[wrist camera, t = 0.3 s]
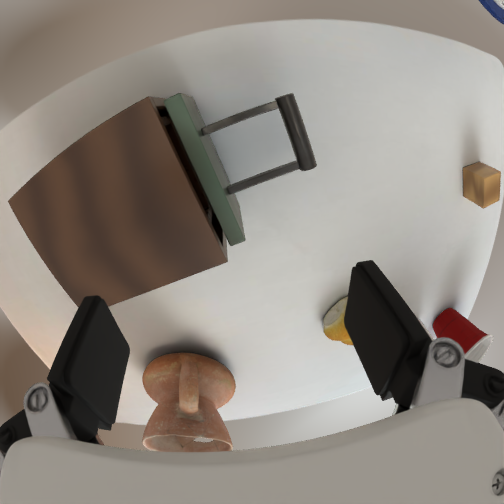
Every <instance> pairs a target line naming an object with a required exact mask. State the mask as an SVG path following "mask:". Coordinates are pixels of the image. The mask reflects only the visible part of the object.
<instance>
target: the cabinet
mask: <svg viewBox="0 0 504 504" xmlns="http://www.w3.org/2000/svg"><path fill="white" fill-rule="evenodd" d="M164 100H166V99H165V98H156V97H146V98H144V99H143V100H141V101H139V102H137V103H135V104H134V105H132V106H130V107H128V108H127V109H125V110H123V111H121V112H120V113H118V114H117V115H115V116H113V117H112V118H110V119H108V120H107V121H105V122H104V123H102V124H101V125H99V126H98V127H96V128H95V129H93V130H92V131H90V132H89V133H87V134H86V135H85V136H83V137H82V138H80V139H79V140H78V141H76V142H75V143H74V144H72V145H71V146H70V147H68V148H67V149H66V150H64V151H63V152H62V153H61V154H59V155H58V156H57V157H56V158H54V159H53V160H52V161H51V162H49V163H48V164H47V165H46V166H45V167H44V168H42V169H41V170H40V171H39V172H38V173H37V174H36V175H34V176H33V177H32V178H31V179H30V180H29V181H28V182H27V183H26V184H25V185H24V186H23V187H22V188H21V189H20V190H19V191H18V192H17V193H15V195H14V196H13V197H12V198H11V199H10V200H9V201H8V202H9V204H10V206H11V208H12V210H13V212H14V214H15V216H16V217H17V219H18V221H19V223H20V225H21V226H22V228H23V230H24V231H25V233H26V235H27V236H28V238H29V240H30V241H31V243H32V244H33V246H34V248H35V249H36V251H37V252H38V254H39V255H40V257H41V258H42V260H43V261H44V263H45V264H46V266H47V267H48V268H49V270H50V271H51V273H52V274H53V275H54V277H55V278H56V279H57V281H58V282H59V284H60V285H61V286H62V287H63V289H64V290H65V291H66V293H67V294H68V295H69V296H70V298H71V299H72V300H73V301H74V303H75V304H76V305H77V306H78V308H79V306H80V304H81V302H82V300H83V299H84V297H86V296H94V295H98V296H100V297H101V299H104V300H105V302H106V304H107V306H111V305H114V304H116V303H119V302H122V301H125V300H127V299H130V298H133V297H135V296H138V295H141V294H143V293H146V292H149V291H151V290H154V289H157V288H159V287H162V286H165V285H167V284H170V283H173V282H175V281H178V280H181V279H183V278H186V277H189V276H191V275H194V274H197V273H199V272H202V271H205V270H207V269H210V268H213V267H215V266H218V265H221V264H223V263H226V262H228V260H227V241H226V236H225V234H224V232H223V229H222V227H221V225H220V223H219V221H218V219H217V217H216V215H215V213H214V211H213V210H212V224H211V222H210V220H209V218H208V216H207V214H206V212H205V210H204V208H203V206H202V204H201V202H200V200H199V198H198V196H197V193H196V191H195V189H194V187H193V185H192V183H191V181H190V179H189V177H188V175H187V173H186V170H185V168H184V166H183V164H182V162H181V160H180V158H179V156H178V153H177V151H176V149H175V147H174V145H173V143H172V141H171V138H170V136H169V134H168V132H167V130H166V128H165V125H164V123H163V121H162V119H161V117H164V116H168V115H169V113H168V111H167V109H166V107H165V104H164V102H163V101H164ZM169 117H170V115H169ZM170 119H171V118H170ZM171 121H172V120H171ZM172 123H173V122H172ZM173 126H174V124H173ZM174 128H175V127H174ZM175 130H176V129H175ZM176 132H177V131H176ZM177 134H178V133H177ZM178 136H179V135H178ZM179 139H180V138H179ZM180 141H181V140H180ZM181 143H182V142H181ZM182 145H183V144H182ZM183 147H184V146H183ZM184 150H185V148H184ZM185 152H186V151H185ZM186 154H187V153H186ZM187 156H188V155H187ZM188 158H189V157H188ZM189 160H190V159H189ZM190 163H191V161H190ZM191 165H192V164H191ZM192 167H193V166H192ZM193 169H194V168H193ZM194 171H195V170H194ZM195 173H196V172H195ZM196 175H197V174H196ZM197 178H198V177H197ZM198 180H199V179H198ZM199 182H200V181H199ZM200 184H201V183H200ZM201 186H202V185H201ZM202 188H203V187H202ZM203 190H204V189H203ZM204 193H205V191H204ZM205 195H206V194H205ZM206 197H207V196H206ZM207 199H208V198H207ZM208 201H209V200H208ZM209 203H210V202H209ZM210 205H211V204H210ZM211 207H212V206H211ZM212 209H213V208H212Z"/></svg>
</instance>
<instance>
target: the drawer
mask: <svg viewBox="0 0 504 504" xmlns="http://www.w3.org/2000/svg"><path fill="white" fill-rule="evenodd" d="M275 100H276V101H273V102H270V103H267V104H264V105H261V106H258V107H255V108H252V109H249V110H246V111H244V112H241V113H238V114H235V115H233V116H230V117H228V118H225V119H222V120H220V121H217V122H215V123H213V124H210V125H208V126H205V124H204V122H203V120H202V117H201V115H200V113H199V111H198V108H197V106H196V104H195V101H194V99H193V97H191V96H188V95H185V94H181V93H178V94H176V95H174V96H172V97H170V98H168V99H166V100H164V101H163V102H164V104H165V107H166V109H167V111H168V113H169V115H170V117H169V115H168V116H164V117H161V119H162V121H163V123H164V125H165V128H166V130H167V132H168V134H169V136H170V138H171V141H172V143H173V145H174V147H175V149H176V151H177V153H178V156H179V158H180V160H181V162H182V164H183V166H184V168H185V170H186V173H187V175H188V177H189V179H190V181H191V183H192V185H193V187H194V189H195V191H196V193H197V196H198V198H199V200H200V202H201V204H202V206H203V208H204V210H205V212H206V214H207V216H208V218H209V220H210V222H211V224H212V210H213V211H214V213H215V215H216V217H217V219H218V221H219V223H220V225H221V227H222V229H223V232H224V234H225V236H226V238H227V240H228V242H229V244H230V246H233V245H235V244H238V243H241V242H243V241H245V235H244V229H243V223H242V218H241V212H240V206H239V203H238V201H237V198H236V196H235V194H234V193H236V192H239V191H241V190H244V189H246V188H249V187H251V186H254V185H257V184H259V183H262V182H265V181H267V180H270V179H273V178H275V177H278V176H281V175H284V174H286V173H289V172H292V171H295V170H298V169H300V170H301V171H306V170H311V169H313V168H315V167H316V166H317V164H316V161H315V158H314V154H313V151H312V148H311V145H310V141H309V138H308V135H307V132H306V129H305V126H304V123H303V120H302V117H301V114H300V111H299V108H298V106H297V103H296V100H295V97H294V94H293V93H290V94H287V95H283V96H280V97H277V98H275ZM278 108H279V111H280V114H281V116H282V119H283V122H284V125H285V127H286V130H287V133H288V136H289V139H290V142H291V145H292V148H293V151H294V154H295V157H296V160H297V161H293V162H290V163H288V164H285V165H282V166H279V167H276V168H274V169H271V170H268V171H265V172H263V173H260V174H257V175H255V176H252V177H250V178H247V179H244V180H242V181H239V182H237V183H234V184H232V185H231V184H230V182H229V180H228V177H227V175H226V173H225V170H224V168H223V166H222V164H221V161H220V159H219V157H218V154H217V152H216V150H215V147H214V145H213V143H212V140H211V138H210V136H209V134H210V133H212V132H215V131H217V130H220V129H222V128H225V127H227V126H230V125H232V124H235V123H238V122H240V121H243V120H246V119H248V118H251V117H254V116H257V115H260V114H263V113H266V112H269V111H272V110H275V109H278ZM170 118H171V119H170ZM171 120H172V121H171ZM172 122H173V123H172ZM173 124H174V126H173ZM174 127H175V128H174ZM175 129H176V130H175ZM176 131H177V132H176ZM177 133H178V134H177ZM178 135H179V136H178ZM179 138H180V139H179ZM180 140H181V141H180ZM181 142H182V143H181ZM182 144H183V145H182ZM183 146H184V147H183ZM184 148H185V150H184ZM185 151H186V152H185ZM186 153H187V154H186ZM187 155H188V156H187ZM188 157H189V158H188ZM189 159H190V160H189ZM190 161H191V163H190ZM191 164H192V165H191ZM192 166H193V167H192ZM193 168H194V169H193ZM194 170H195V171H194ZM195 172H196V173H195ZM196 174H197V175H196ZM197 177H198V178H197ZM198 179H199V180H198ZM199 181H200V182H199ZM200 183H201V184H200ZM201 185H202V186H201ZM202 187H203V188H202ZM203 189H204V190H203ZM204 191H205V193H204ZM205 194H206V195H205ZM206 196H207V197H206ZM207 198H208V199H207ZM208 200H209V201H208ZM209 202H210V203H209ZM210 204H211V205H210ZM211 206H212V207H211ZM212 208H213V209H212Z"/></svg>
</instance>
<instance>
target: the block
mask: <svg viewBox="0 0 504 504" xmlns="http://www.w3.org/2000/svg"><path fill="white" fill-rule="evenodd" d="M500 178H501V172H500V171H498V170H496V169H494V168H492V167H490V166H488V165H486V164H484V163H481V162H478V163H475V164H472V165H469V166H467V167H464V168H463V196H464V197H465V198H467V199H469V200H470V201H472V202H474V203H475V204H477V205H478V206H480V207H482V208H485V207H487V206H489V205H491V204H493V203H495V202H497V201H499V197H500Z"/></svg>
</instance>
